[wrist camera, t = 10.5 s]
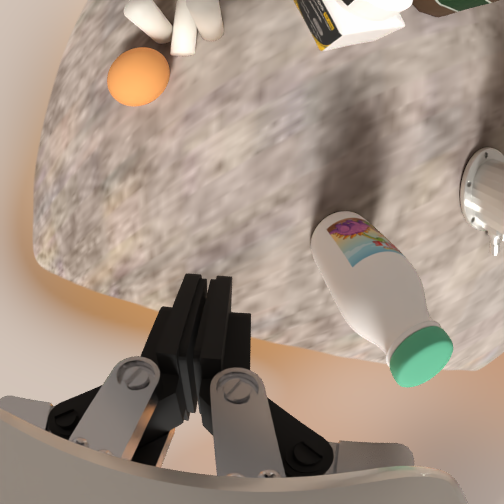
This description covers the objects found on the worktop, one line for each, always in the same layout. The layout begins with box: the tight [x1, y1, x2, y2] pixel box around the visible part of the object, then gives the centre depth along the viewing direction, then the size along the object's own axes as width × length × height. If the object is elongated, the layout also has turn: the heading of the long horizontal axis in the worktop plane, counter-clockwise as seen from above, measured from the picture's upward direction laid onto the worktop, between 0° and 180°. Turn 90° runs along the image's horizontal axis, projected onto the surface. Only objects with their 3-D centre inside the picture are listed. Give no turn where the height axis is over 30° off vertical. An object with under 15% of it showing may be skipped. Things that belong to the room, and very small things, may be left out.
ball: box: [107, 47, 170, 106], centre depth 21 cm, size 6×6×6 cm
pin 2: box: [186, 0, 224, 41], centre depth 18 cm, size 2×2×8 cm
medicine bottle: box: [294, 0, 413, 51], centre depth 16 cm, size 7×7×12 cm
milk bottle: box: [311, 211, 453, 387], centre depth 23 cm, size 8×8×20 cm
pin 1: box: [124, 0, 173, 44], centre depth 17 cm, size 2×2×8 cm
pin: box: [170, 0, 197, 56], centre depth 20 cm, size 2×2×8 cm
